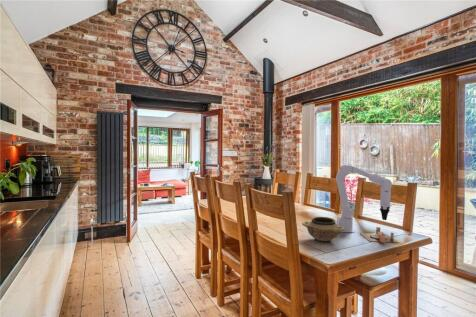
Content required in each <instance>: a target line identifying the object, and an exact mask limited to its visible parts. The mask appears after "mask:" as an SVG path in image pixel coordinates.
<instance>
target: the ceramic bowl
mask: <svg viewBox="0 0 476 317" xmlns="http://www.w3.org/2000/svg"><path fill="white" fill-rule="evenodd" d="M301 225H302V226H303V227H305V228H306V229H307V232H308V234H309V236H311V238H313V240H314V242H316V243H319V244H322V245H323V244H325V245H326V244H327V245H328V244H331V242H332V240H335V239H336V238H337V237H338V236H339V234H340V231H344V230H345V228H344V227H341V226H338V225H337V222H336V219H334V218H331V217H327V216H314V217H312V218H311V221H303V222H302V223H301Z"/></svg>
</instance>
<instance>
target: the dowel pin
mask: <svg viewBox="0 0 476 317" xmlns="http://www.w3.org/2000/svg"><path fill="white" fill-rule="evenodd" d="M394 236H395V234H394V232H393V231H392V232H390V237H391V239H390V240H395V239H394V238H395V237H394Z"/></svg>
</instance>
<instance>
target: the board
mask: <svg viewBox="0 0 476 317" xmlns="http://www.w3.org/2000/svg"><path fill="white" fill-rule="evenodd" d="M378 232H381V227H380V226H376V228H375V233H377V234H378ZM359 234H360V236H362V237H363V238H364V239H366V240H367V241H368V242H369V243H371V242H372V243H381V242H380V241H379V240H378V239H375V238H372V237H370V234H371V233H370V232H369V233H367V232H366V233H365V232H362V233H361V232H360V233H359ZM384 234H385V236H386V239H385V243H395V244H397V243H399V242H398V241H397V240H396V239H394V240H390V239H391V235H388V234H387V233H384Z"/></svg>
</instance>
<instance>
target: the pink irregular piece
mask: <svg viewBox="0 0 476 317" xmlns="http://www.w3.org/2000/svg"><path fill="white" fill-rule="evenodd" d="M385 234H386V233H384V232H382V231H380V232H378V234H377V233H376V232H374V233H370V237H372V238H375V239H378V240H379V241H380V242H379V243H383V244H385V243H386V242H385V239H386V236H385Z"/></svg>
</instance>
